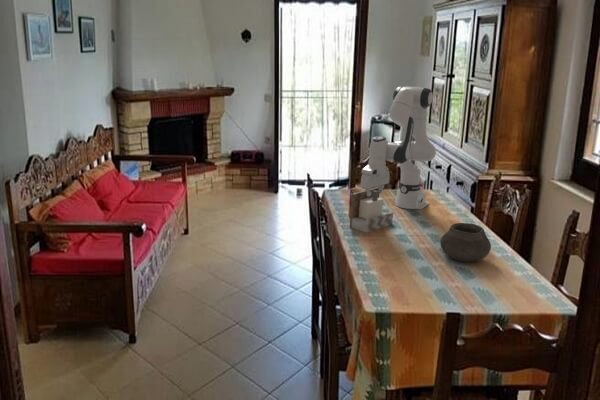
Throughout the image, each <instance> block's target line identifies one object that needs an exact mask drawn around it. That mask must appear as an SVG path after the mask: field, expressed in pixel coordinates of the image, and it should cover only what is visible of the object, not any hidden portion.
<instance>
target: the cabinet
mask: <svg viewBox="0 0 600 400" xmlns="http://www.w3.org/2000/svg"><path fill="white" fill-rule="evenodd" d="M383 205H384V198H381V197H379V198H378V191H373V195H372V197H370V198H366V199H363V200H360V206H359V217H361V218H365V219H371V218H374V217H377V216H381V215H382V212H383V208H384V207H383Z"/></svg>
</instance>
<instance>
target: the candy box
mask: <svg viewBox="0 0 600 400" xmlns="http://www.w3.org/2000/svg"><path fill="white" fill-rule="evenodd" d="M364 190H365V189H364ZM364 190H363V189H362V188H357V187H350V190H349V201H348V215H349V216H350V213H351V198H352V194H353V193H357V192H361V191H364Z"/></svg>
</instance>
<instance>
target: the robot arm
mask: <svg viewBox="0 0 600 400" xmlns="http://www.w3.org/2000/svg"><path fill="white" fill-rule="evenodd" d="M392 97H393V98H392V103H391V105H390V108H389V117H390V120H391V121H392V122H394V123H395V124H396V125H397V126H399V127H401V128H402V129H403V132H402V139H401V140H396V141H393V142H392V141H388V140H387V138H386V137H385V136H381V135H380V136H379V135H378V136H374V137H372V138H371V140H370V144H369V145H370V146H369V153H368V155H369V156H368V157H369V159H368V162H367V163H368V164H367V165H366V166H365V167H363V168H361V176H360V177H361V179H360V189H362V190H363V189H364V190H366V192H367V196H371V193H370V190H371V189H372V188H376V187H380V188H379V189H378V193H379V194H383V189H384V188H385V185H388V184H389V183H390V171H389V170H390V169H389V167H388V166H386V165H387V164H386V163H387V162H386V161H389V162H394V163H397V164H399V168H400V181H399V184H398V185H399V186H398V188H399V189H397V191H396V198H395V200H394V202H393V203H394V204H395V206H397V207H398V208H402V209H407V210H422V209H424V208H425V207H428V206H429V205H430V202H429V201H427V200H426V199H427V196H426V194H425V192H423V190H421V188H422V187H423V186H424V183H423V182H422V183H421V182H420V180H421V170H420V169H419V168H418V166H416V165H414V164H413V162H412V161H417V162H430V161H433V159H434V158H435V157H436V154H437V150H436V147H435V145H434V144H433V143H431V141H430V140H429V138H428V136H427V133H426V132H427V131H426V129H427V128H426V125H427V115H428V113H427V112H428V111H427V110H428V109H427V108H428V107H429V108H430V106H431V105H432V103H433V100H434V93H433V91H432V89H431V88H428V87H419V86H398V87H397V88H395V90H394V91H393V95H392ZM412 137H413V139H414V141H412Z"/></svg>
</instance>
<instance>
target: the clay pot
mask: <svg viewBox="0 0 600 400" xmlns="http://www.w3.org/2000/svg"><path fill="white" fill-rule="evenodd" d="M448 229H449V230H448V231H446V232H445V233H444V234H443V235H442V237H441V238H440V242H439V243H440V244H439V245H440V248H441V250H442V252H443V253H444V254H445V255H446V256H447V257H449V258H452V259H454V260H457V261H460V262H466V263H467V262H475V261H481V260H483V259H485V258H487V256H489V254H490V253H491V249H492V244H491V241H490V239H489V237H488V236H487V234H486V231H485V230H484V227H482V226H480V225H478V224H474V223H472V222H471V223H468V222H457V223H456V222H455V223H453V224H451V225H450V227H449V228H448Z"/></svg>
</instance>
